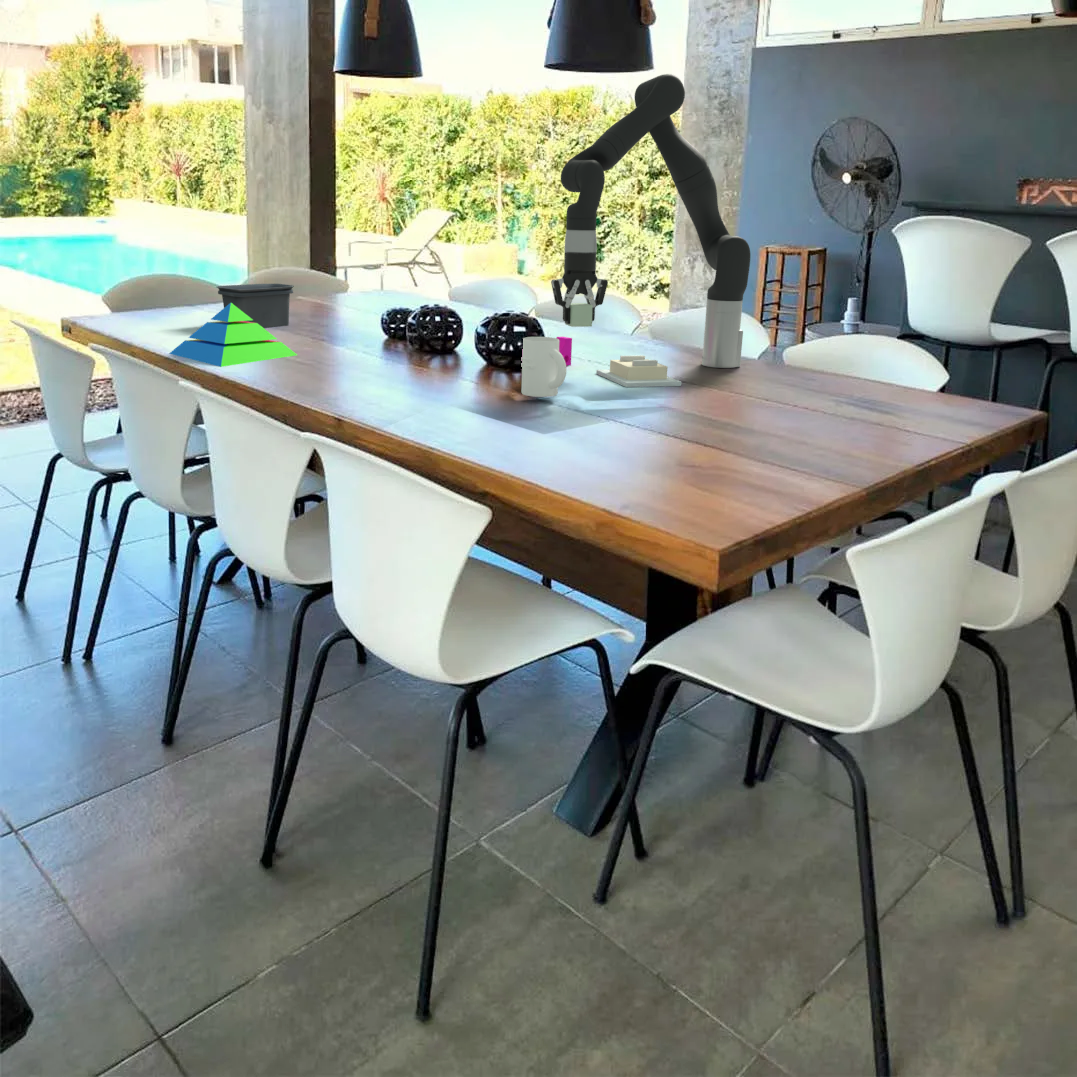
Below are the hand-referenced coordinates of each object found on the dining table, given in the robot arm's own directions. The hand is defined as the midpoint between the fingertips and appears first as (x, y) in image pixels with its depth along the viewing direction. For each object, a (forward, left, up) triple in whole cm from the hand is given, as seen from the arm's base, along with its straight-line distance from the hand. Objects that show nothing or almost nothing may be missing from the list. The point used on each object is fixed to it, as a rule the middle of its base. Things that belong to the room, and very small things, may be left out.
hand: (578, 323), depth 249 cm
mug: (+16, +24, -13) cm, 31 cm away
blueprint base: (-14, +6, -13) cm, 20 cm away
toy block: (+3, -15, -13) cm, 20 cm away
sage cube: (0, 0, -1) cm, 1 cm away
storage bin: (+71, -92, -13) cm, 118 cm away
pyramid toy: (+79, -44, -14) cm, 92 cm away
